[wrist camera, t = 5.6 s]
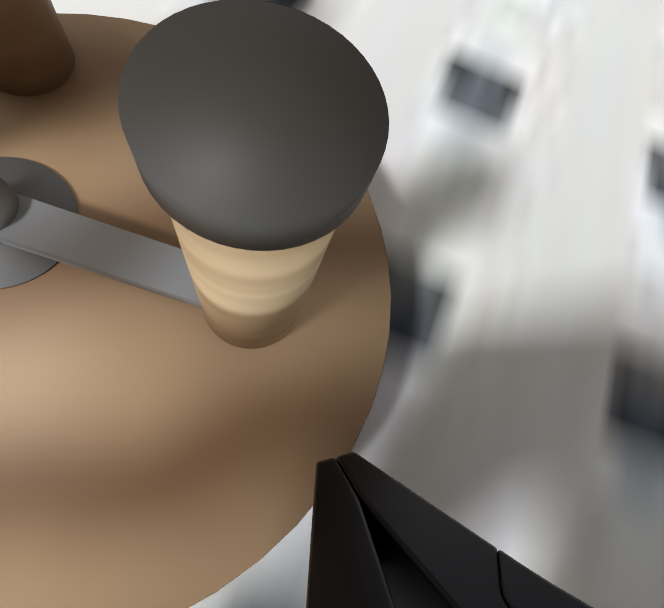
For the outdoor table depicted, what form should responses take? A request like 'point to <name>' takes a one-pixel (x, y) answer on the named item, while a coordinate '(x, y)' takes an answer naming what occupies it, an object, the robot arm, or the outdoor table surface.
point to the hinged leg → (230, 164)
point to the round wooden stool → (150, 363)
